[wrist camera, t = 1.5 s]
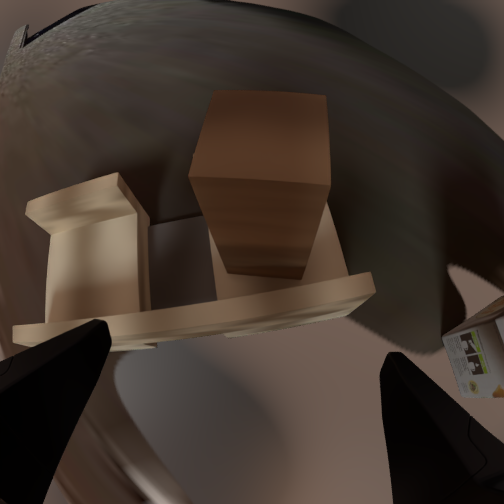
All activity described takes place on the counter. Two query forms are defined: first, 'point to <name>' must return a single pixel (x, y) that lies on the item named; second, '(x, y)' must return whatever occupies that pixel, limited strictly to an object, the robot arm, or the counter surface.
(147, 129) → the counter surface
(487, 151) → the counter surface
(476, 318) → the coffee box
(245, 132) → the walnut block
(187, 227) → the tunnel deck
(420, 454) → the robot arm
